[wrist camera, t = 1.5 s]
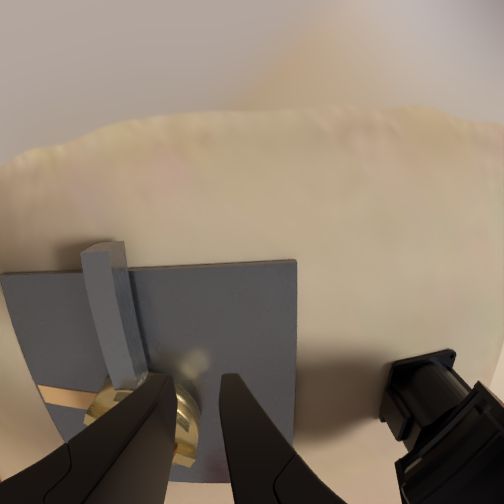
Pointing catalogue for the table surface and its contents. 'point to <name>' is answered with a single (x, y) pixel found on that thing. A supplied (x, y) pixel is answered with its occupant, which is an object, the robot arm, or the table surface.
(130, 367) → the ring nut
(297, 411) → the table surface
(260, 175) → the table surface
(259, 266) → the plate
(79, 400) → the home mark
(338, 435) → the table surface
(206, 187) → the table surface
